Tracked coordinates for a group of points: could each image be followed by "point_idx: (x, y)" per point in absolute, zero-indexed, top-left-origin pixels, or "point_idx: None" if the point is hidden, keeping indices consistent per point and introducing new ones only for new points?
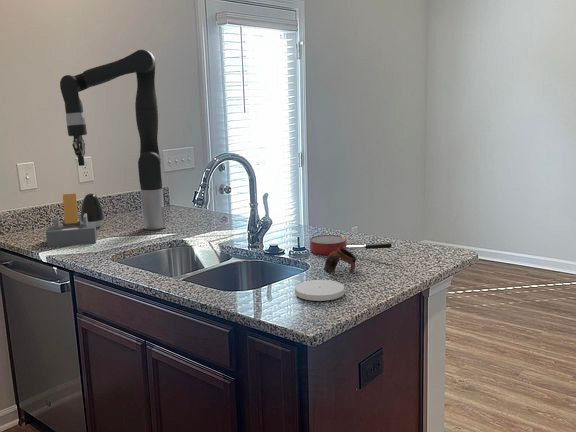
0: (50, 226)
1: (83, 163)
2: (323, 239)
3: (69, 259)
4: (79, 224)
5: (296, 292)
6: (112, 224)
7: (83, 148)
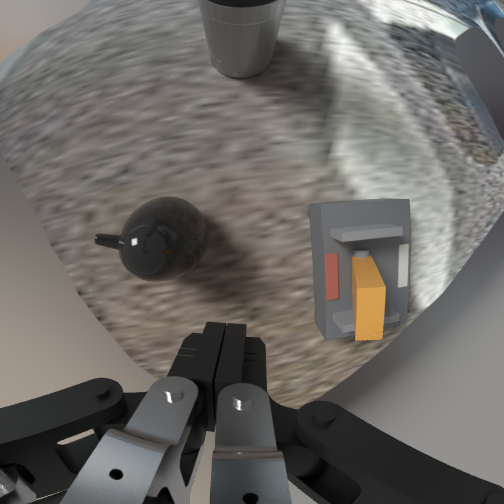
0: (341, 333)
1: (244, 333)
2: None
3: (477, 238)
4: (363, 249)
5: None
6: (150, 178)
7: (158, 474)
